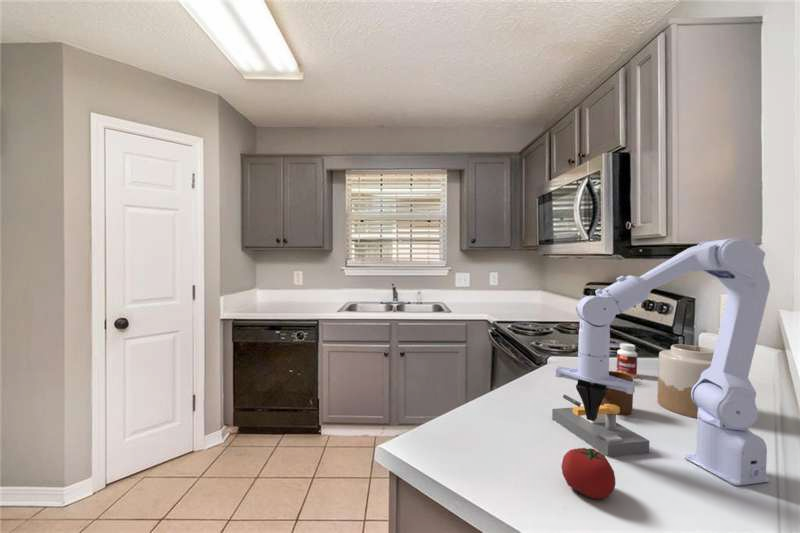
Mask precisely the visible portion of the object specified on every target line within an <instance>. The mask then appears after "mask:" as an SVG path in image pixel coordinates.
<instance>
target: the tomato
mask: <svg viewBox="0 0 800 533" xmlns="http://www.w3.org/2000/svg"><path fill="white" fill-rule="evenodd" d="M561 472H562V475H563V478H564V480H565V481H566V484H567V486H568V487H570V488H571V489H572V490H574V491H576V492H579V493H581V494H582V495H583V496H586V497H588V498H589V499H596V500H597V499H598V500H604V499H606V498H608V497H609V496H610V495H611V494H612V493H613V492H614V490H615V487H616V483H617V482H616V477H615V471H614V469H613V467H612V465H611V464H610V462H609V460H608V459H607V456H606V455H604V454H603V453H601V452H600V451H598V450H597V449H595V448H592V447H591V448H585V447H578V448H573V449H569V450H568V451H567V452H566V453H565V454H564V455H563V458H562V462H561Z"/></svg>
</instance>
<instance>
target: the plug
mask: <svg viewBox="0 0 800 533" xmlns="http://www.w3.org/2000/svg"><path fill="white" fill-rule="evenodd" d="M562 398H563V399H564V400H566V401H568V402H570V403H571V404H574V406H576V407H584V405H583V402H582V403H581V402H580V401H577V400H576V399H574V398H572V397H570V396H568V395H567V394H563V396H562ZM581 417H583V418H584V419H586V420H588V419H587V417H586V415H582V416H581ZM605 417H606V414H597V419H596V420H595V421H591V420H588V421H589V422H591V423H605Z"/></svg>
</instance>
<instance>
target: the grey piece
mask: <svg viewBox="0 0 800 533" xmlns="http://www.w3.org/2000/svg"><path fill="white" fill-rule="evenodd" d="M551 416H552V417H551V419H552V420H553V421H555V422H556V423H558V424H559V425H560V426H562V427H564V428H565V429H566V430H568V431H569V432H570V433H572V434H574V435H575V436H577V437H578V438H580V439H581V440H583V441H584V442H585V443H587V444H589V445H590V446H591V447H593V449H595V450H596V451H598V452H600V453H601V454H603V455H604V456H605V457H606V458H611V457H619V456H620V457H621V456H629V455H639V454H640V455H641V454H649V453H650V440H649V439H647V438H646V437H644V436H642V435H640V434H639V433H637V432H634V431H632V430H631V429H629V428H628V427H626V426H624V425H622V424H619V423H618V422H617V414H606V417H605V423H591V422H589V421H588V420H586V419H584V418H583V417H581V416H577V415H575V414H574V413H573V407H561V408H560V407H558V408H552V413H551Z"/></svg>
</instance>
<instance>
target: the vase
mask: <svg viewBox="0 0 800 533" xmlns="http://www.w3.org/2000/svg"><path fill="white" fill-rule="evenodd" d="M714 350H715V349H714V348H713V349H712V348H709V347H705V346H701V345H700V346H699V345H698V346H697V345H690V344H678V343H677V344H672V345H671V346H670V349H664V350H661V351H659V353H658V368H657V369H658V372H657V374H658V375H657V403H658V404H659V405H660V406H661V407H662V408H664V409H665V410H668V411H670V412H673V413H676V414H679V415H681V416H685V417H690V418H693V419H697V413H698V406H697V405H696V404H695V403H694V402H693V400H692V398H691V390H692V388H693V386H694V385H695V384H696V383H697V382H698V381H699V379H700V376H701V373H702V372H703V371H705V370H706V369H708V368H709V367H710V366H711V362H712V358H713V354H714Z"/></svg>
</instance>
